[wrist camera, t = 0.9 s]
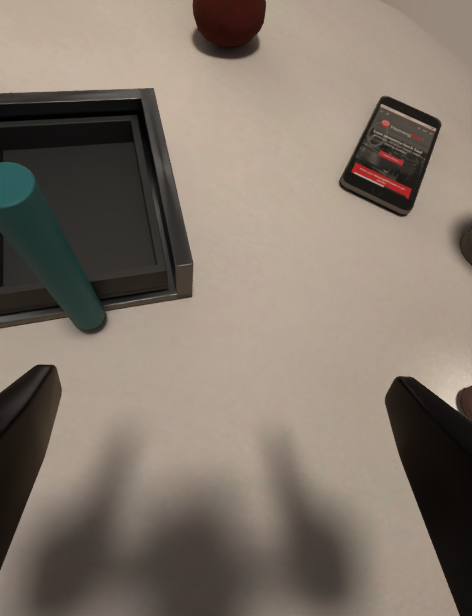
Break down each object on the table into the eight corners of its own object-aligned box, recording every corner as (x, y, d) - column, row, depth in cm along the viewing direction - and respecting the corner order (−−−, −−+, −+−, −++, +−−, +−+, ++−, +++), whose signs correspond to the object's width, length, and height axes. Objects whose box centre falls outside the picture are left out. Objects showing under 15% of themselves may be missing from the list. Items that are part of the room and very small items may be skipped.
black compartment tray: (173, 315, 26) (164, 191, 14) (-3, 346, 23) (-195, 226, 11) (140, 142, 32) (114, -46, 20) (-2, 151, 29) (-126, -57, 18)
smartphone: (340, 180, 34) (382, 93, 40) (337, 185, 34) (379, 99, 40) (411, 213, 33) (443, 120, 39) (406, 218, 34) (438, 126, 40)
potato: (177, 35, 40) (176, -44, 34) (230, 13, 43) (238, -63, 37) (221, 71, 39) (228, -5, 32) (273, 46, 42) (288, -28, 36)
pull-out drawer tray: (192, 296, 28) (193, 264, 23) (-23, 332, 24) (-70, 302, 20) (157, 138, 34) (153, 87, 29) (-18, 149, 30) (-53, 94, 26)
